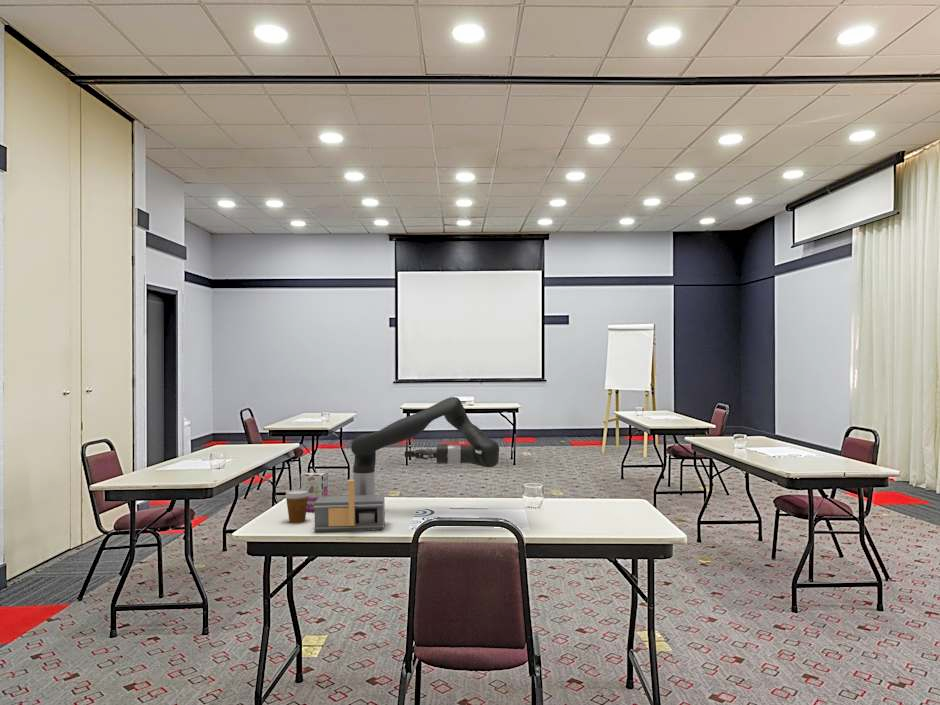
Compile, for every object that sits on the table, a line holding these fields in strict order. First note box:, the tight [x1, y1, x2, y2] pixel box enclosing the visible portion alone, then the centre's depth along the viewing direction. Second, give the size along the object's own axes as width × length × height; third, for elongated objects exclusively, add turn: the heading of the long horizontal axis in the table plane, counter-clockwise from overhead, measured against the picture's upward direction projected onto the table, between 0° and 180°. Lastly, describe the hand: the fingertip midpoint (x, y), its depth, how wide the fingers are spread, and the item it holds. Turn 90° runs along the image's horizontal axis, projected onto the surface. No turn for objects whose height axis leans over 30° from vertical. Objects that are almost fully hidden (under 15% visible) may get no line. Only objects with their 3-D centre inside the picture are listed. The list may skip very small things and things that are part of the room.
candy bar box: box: [299, 472, 329, 513], centre depth 287 cm, size 11×5×16 cm, turn 73°
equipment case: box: [313, 494, 386, 532], centre depth 257 cm, size 14×26×11 cm, turn 94°
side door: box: [328, 479, 355, 526], centre depth 250 cm, size 4×10×18 cm, turn 94°
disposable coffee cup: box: [285, 489, 309, 524], centre depth 269 cm, size 10×10×12 cm
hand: (404, 454), depth 257 cm, fingers closed
